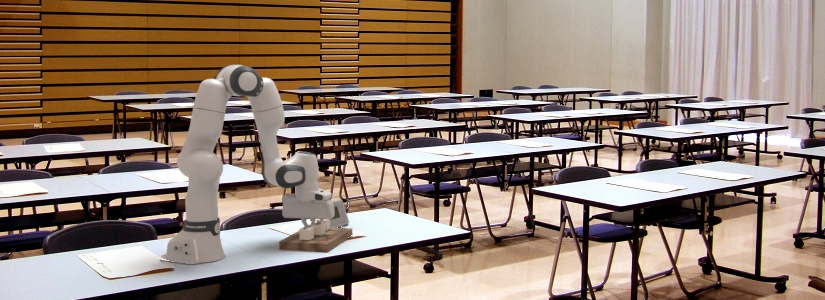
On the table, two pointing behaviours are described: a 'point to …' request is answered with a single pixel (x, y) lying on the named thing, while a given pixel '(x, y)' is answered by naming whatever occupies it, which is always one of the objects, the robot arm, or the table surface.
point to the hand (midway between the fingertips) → (308, 229)
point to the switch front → (306, 233)
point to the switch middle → (318, 228)
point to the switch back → (327, 223)
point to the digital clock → (339, 215)
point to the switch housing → (316, 241)
